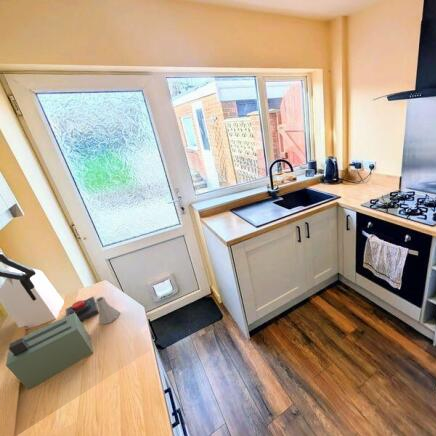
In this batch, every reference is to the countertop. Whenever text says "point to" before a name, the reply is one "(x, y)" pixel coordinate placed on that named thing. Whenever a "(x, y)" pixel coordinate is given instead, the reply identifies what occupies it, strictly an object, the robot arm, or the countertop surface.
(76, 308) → the power button
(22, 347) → the toaster slider
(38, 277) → the milk
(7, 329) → the countertop surface
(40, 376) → the toaster
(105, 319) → the flask
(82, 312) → the block
